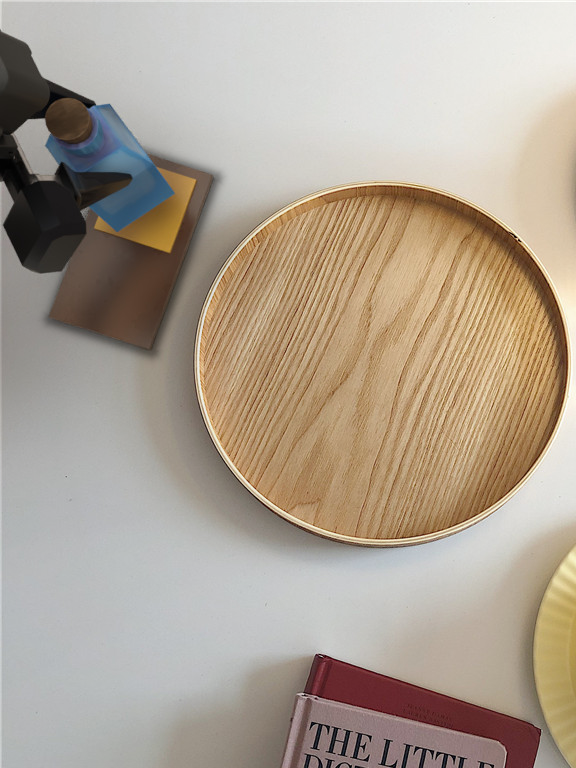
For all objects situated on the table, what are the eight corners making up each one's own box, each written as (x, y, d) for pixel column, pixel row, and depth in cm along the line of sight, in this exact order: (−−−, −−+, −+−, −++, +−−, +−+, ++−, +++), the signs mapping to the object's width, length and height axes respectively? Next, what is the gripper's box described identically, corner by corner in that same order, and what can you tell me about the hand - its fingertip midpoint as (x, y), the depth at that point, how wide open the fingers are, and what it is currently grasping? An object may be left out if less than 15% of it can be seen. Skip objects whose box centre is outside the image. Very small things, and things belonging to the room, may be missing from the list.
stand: (51, 318, 66) (46, 316, 65) (116, 146, 68) (113, 141, 67) (150, 350, 66) (147, 348, 65) (214, 177, 67) (211, 173, 67)
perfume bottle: (117, 232, 61) (54, 176, 50) (78, 177, 62) (6, 108, 50) (175, 193, 62) (127, 128, 50) (136, 139, 62) (79, 62, 50)
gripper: (-20, 188, 38) (211, 185, 50) (-157, -97, 39) (100, -34, 51) (-65, 289, 45) (146, 265, 57) (-179, 45, 46) (51, 71, 58)
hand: (112, 144), depth 55 cm, fingers closed on perfume bottle, 6 cm apart
